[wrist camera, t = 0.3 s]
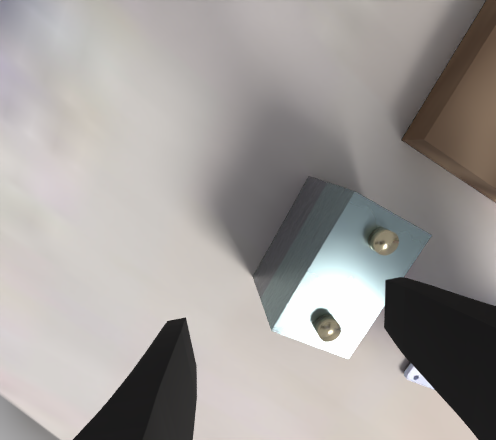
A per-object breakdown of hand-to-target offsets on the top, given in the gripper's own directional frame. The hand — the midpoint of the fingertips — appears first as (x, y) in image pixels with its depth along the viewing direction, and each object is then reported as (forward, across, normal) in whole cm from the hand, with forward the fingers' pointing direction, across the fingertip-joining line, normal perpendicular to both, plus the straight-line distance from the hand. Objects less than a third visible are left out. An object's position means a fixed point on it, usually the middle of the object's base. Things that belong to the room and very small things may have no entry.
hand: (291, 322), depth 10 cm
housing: (+10, -4, +1) cm, 11 cm away
